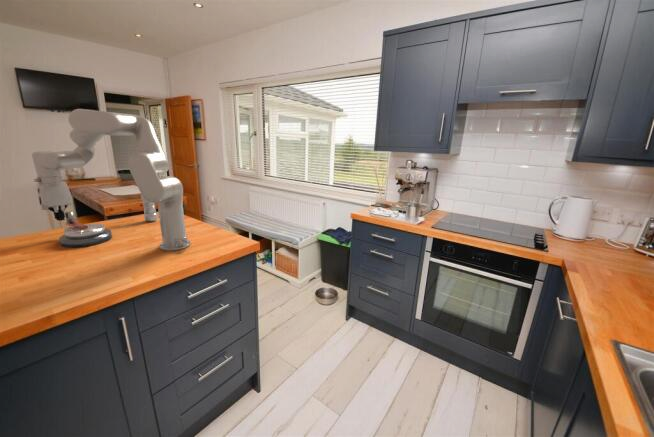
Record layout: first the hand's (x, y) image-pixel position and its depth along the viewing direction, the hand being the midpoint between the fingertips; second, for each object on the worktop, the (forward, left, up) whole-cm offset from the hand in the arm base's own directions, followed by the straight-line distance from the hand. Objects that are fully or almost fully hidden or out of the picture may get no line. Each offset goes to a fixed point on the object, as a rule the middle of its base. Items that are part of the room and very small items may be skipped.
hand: (60, 219), depth 124 cm
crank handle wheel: (-7, -4, -6) cm, 10 cm away
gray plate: (-10, -4, -9) cm, 15 cm away
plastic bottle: (-3, -37, -9) cm, 39 cm away
